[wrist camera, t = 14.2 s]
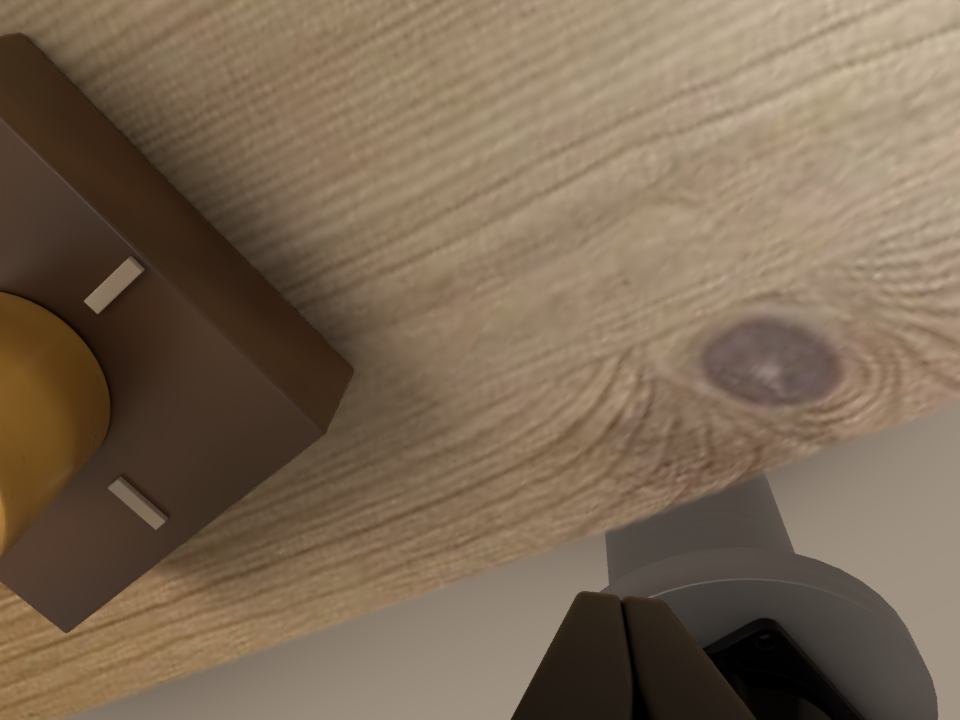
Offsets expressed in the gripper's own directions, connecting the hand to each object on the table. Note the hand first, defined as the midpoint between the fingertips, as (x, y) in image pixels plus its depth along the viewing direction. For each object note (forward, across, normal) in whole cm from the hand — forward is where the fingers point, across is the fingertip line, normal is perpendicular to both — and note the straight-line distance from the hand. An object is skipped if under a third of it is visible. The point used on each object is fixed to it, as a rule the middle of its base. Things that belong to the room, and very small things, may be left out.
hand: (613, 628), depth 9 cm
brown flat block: (+12, +12, +3) cm, 17 cm away
